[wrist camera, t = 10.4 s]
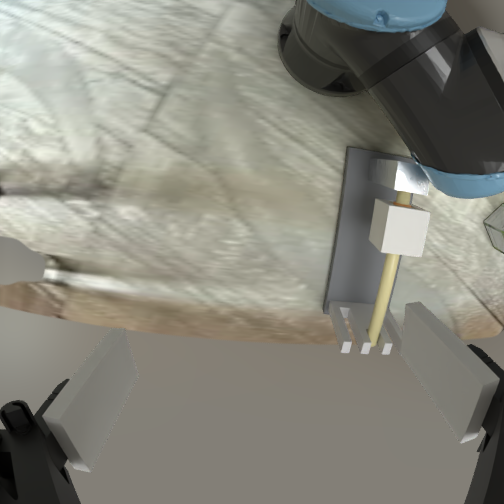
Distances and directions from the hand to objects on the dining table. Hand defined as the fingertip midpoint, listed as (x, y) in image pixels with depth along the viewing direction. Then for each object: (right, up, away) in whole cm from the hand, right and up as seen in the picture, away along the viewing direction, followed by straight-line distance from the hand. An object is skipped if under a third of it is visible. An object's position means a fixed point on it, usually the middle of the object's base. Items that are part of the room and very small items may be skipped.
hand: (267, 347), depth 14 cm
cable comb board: (+16, +6, +30) cm, 35 cm away
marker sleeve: (+16, +8, +22) cm, 28 cm away
